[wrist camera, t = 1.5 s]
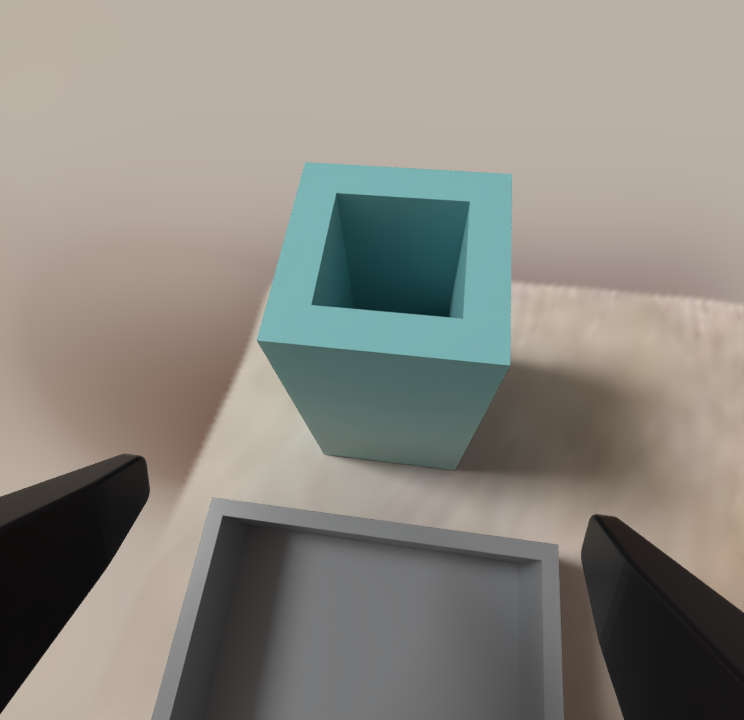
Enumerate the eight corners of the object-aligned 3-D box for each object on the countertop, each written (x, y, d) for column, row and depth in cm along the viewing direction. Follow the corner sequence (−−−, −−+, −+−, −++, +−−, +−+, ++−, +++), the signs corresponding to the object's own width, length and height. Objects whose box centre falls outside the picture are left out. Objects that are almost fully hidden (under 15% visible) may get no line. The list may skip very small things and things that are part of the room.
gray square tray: (533, 990, 15) (577, 1123, 11) (148, 899, 16) (77, 991, 13) (529, 550, 20) (558, 544, 17) (242, 510, 22) (212, 497, 18)
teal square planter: (454, 470, 22) (510, 365, 11) (323, 454, 23) (256, 340, 12) (461, 351, 25) (511, 174, 14) (344, 340, 25) (305, 162, 15)
